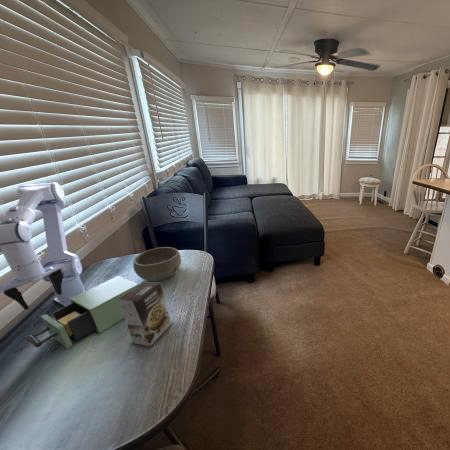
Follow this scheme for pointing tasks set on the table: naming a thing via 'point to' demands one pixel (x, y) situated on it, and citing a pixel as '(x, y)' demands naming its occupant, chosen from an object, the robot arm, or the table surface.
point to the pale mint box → (105, 301)
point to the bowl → (157, 263)
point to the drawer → (57, 331)
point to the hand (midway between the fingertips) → (43, 300)
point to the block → (65, 320)
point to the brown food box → (145, 312)
